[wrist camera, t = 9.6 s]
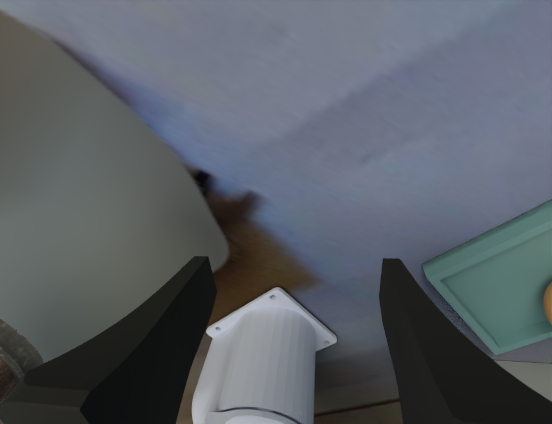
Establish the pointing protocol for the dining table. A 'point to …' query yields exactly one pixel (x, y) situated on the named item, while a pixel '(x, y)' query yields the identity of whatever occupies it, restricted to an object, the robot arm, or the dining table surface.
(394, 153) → the dining table surface
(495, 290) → the tray
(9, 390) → the tankard
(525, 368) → the wall
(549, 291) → the ball
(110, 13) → the dining table surface
